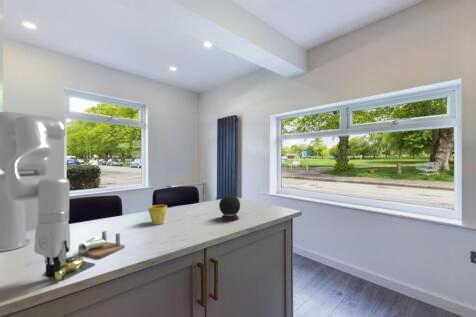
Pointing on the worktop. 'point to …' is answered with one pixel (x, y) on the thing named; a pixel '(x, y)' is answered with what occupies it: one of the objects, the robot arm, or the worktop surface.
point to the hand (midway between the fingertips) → (53, 275)
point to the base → (85, 266)
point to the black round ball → (229, 208)
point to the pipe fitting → (91, 244)
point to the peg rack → (104, 248)
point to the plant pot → (158, 214)
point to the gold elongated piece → (68, 266)
